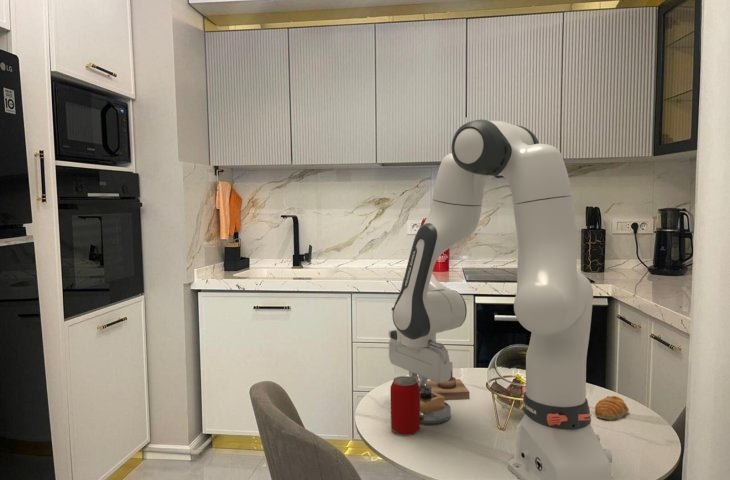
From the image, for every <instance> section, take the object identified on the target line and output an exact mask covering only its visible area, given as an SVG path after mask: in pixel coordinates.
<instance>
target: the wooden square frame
mask: <svg viewBox="0 0 730 480" xmlns="http://www.w3.org/2000/svg"><path fill="white" fill-rule="evenodd" d="M420 394H421V392H420ZM431 394H432V395H434V396H435V397H433V398H430V399H427V400H424V399H422V398H420V413H422V414H424V415H426V414H429V413H432V412H435V411H438V410H441V409H444V408H445V402H446V400H445V397H444V396H442V395H440V394H437V393H435V392H433V391H431Z"/></svg>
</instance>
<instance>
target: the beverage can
mask: <svg viewBox="0 0 730 480" xmlns="http://www.w3.org/2000/svg"><path fill="white" fill-rule="evenodd" d="M390 428H391V430H392V431H393V432H395V433H396V434H398V435H402V436H412V435H413V434H415V433H416V432H418V431H419V430H420V429H421V425H420V387H419V385H418V383H417V381H416V379H415V378H413V377H410V376H409V375H408V376H406V375H401V376H397V377H394V378H393V381H392V384H391V385H390Z"/></svg>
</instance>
